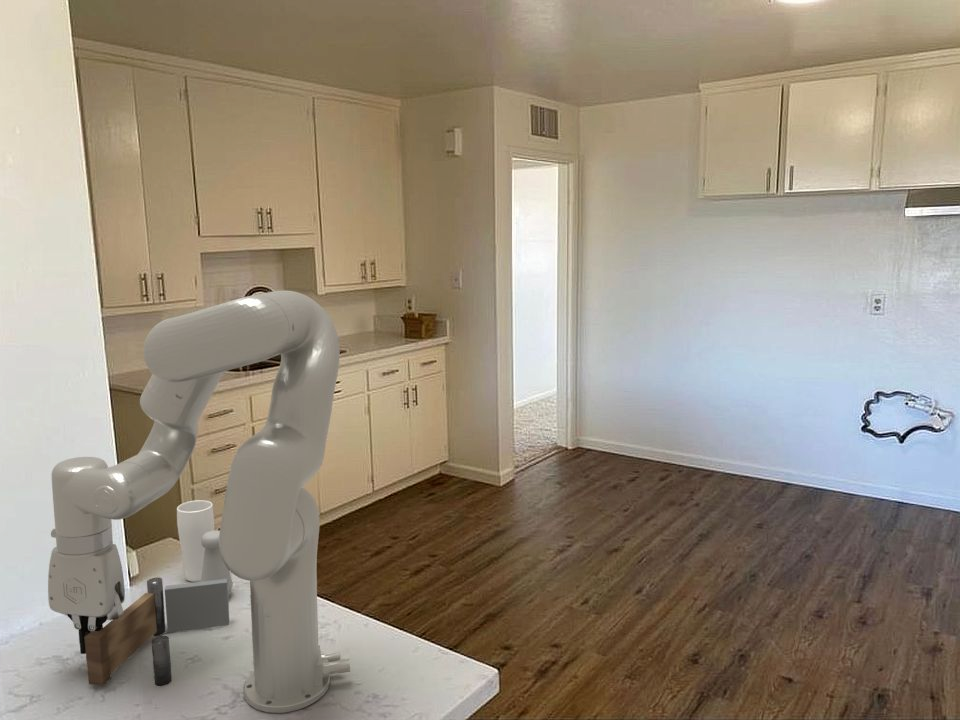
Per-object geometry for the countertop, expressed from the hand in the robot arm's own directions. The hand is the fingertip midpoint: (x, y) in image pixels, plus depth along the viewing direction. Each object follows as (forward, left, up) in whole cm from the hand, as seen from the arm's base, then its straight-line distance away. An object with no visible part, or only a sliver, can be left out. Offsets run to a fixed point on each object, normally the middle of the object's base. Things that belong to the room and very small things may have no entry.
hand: (92, 649), depth 113 cm
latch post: (-11, +6, -4) cm, 13 cm away
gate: (-5, -1, -3) cm, 5 cm away
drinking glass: (-13, -29, -4) cm, 32 cm away
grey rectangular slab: (-15, -9, -4) cm, 18 cm away
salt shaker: (-17, -19, -4) cm, 26 cm away
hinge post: (-8, -9, -4) cm, 13 cm away
